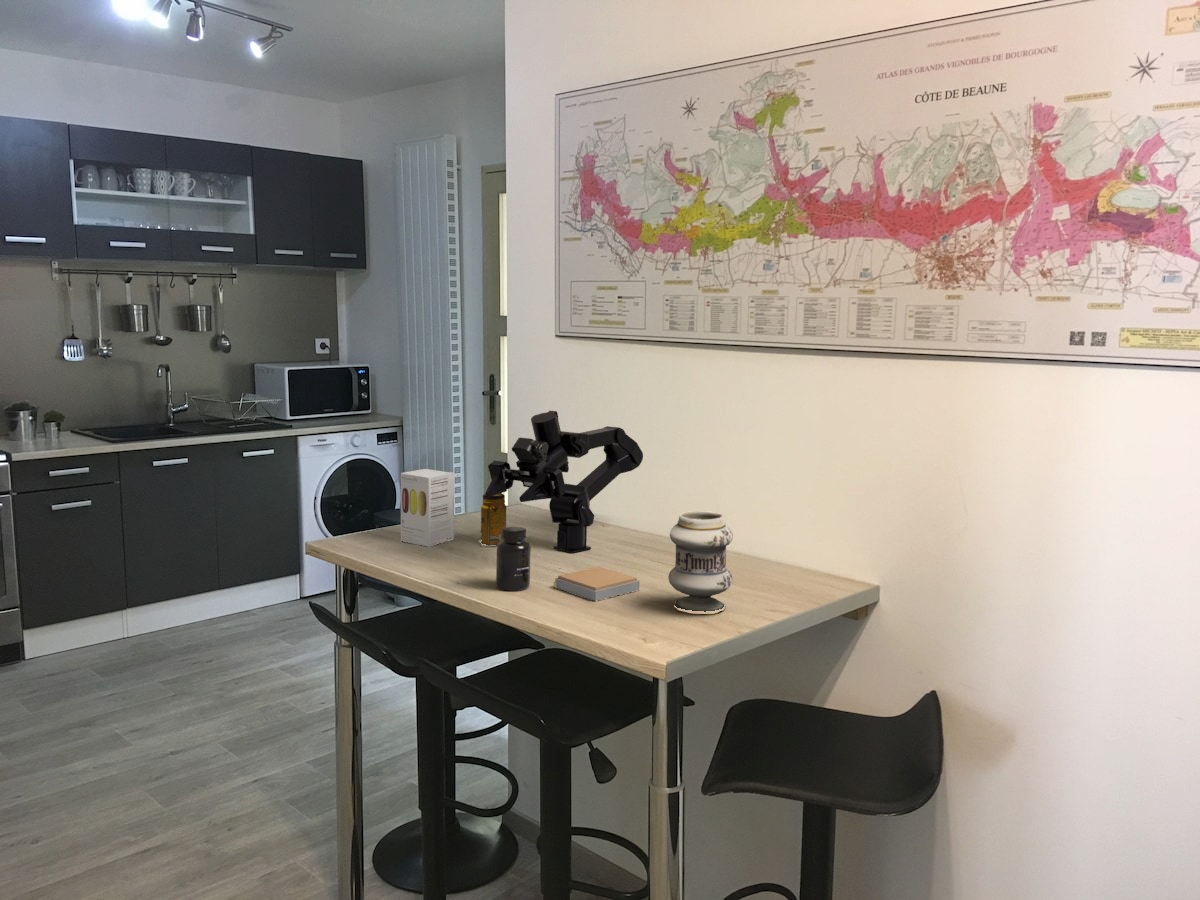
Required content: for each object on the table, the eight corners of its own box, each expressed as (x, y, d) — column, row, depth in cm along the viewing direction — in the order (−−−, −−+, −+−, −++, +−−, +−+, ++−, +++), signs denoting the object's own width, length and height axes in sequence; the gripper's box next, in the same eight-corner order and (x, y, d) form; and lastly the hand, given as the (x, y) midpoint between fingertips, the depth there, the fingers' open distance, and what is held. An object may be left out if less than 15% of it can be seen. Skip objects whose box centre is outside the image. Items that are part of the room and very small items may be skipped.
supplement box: (399, 541, 225) (398, 472, 222) (425, 534, 232) (425, 467, 230) (429, 547, 220) (429, 476, 217) (455, 540, 227) (455, 471, 225)
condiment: (477, 540, 228) (477, 491, 226) (512, 538, 230) (512, 490, 228) (481, 547, 221) (482, 497, 219) (517, 545, 223) (517, 496, 221)
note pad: (597, 577, 197) (597, 565, 197) (639, 590, 188) (639, 577, 188) (553, 587, 189) (553, 575, 188) (595, 601, 180) (595, 588, 179)
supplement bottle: (524, 592, 185) (525, 533, 183) (491, 590, 186) (492, 531, 184) (534, 583, 191) (534, 526, 190) (502, 581, 193) (502, 524, 191)
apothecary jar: (668, 596, 184) (671, 506, 182) (729, 599, 183) (733, 509, 181) (666, 615, 172) (669, 519, 170) (732, 618, 171) (736, 522, 169)
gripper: (504, 427, 210) (460, 459, 199) (572, 434, 200) (530, 468, 189) (515, 471, 215) (473, 504, 204) (582, 480, 205) (541, 515, 193)
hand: (503, 497), depth 197 cm, fingers open, 9 cm apart
